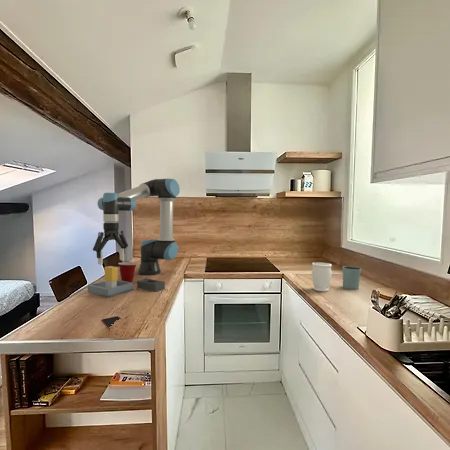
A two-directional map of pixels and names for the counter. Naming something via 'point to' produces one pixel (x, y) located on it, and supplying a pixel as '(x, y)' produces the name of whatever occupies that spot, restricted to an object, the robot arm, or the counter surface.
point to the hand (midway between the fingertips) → (111, 262)
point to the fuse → (111, 276)
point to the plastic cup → (127, 271)
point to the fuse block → (151, 285)
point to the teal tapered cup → (351, 277)
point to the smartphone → (110, 321)
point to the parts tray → (103, 291)
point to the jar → (321, 276)
